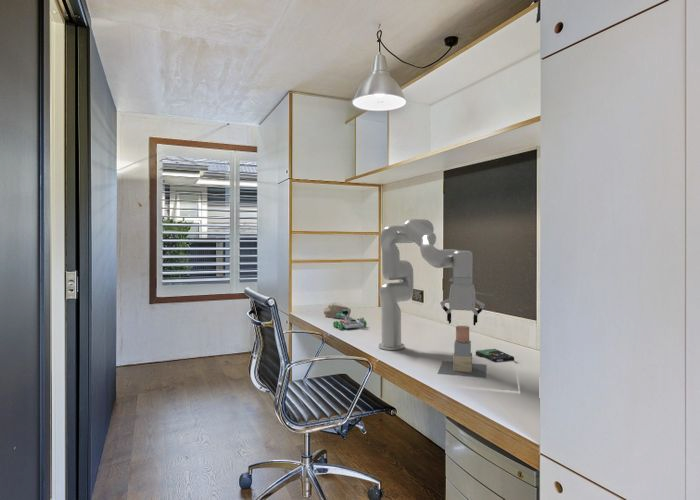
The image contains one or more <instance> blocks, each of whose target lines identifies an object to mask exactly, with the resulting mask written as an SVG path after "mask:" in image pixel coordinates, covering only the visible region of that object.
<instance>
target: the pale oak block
mask: <svg viewBox="0 0 700 500" xmlns="http://www.w3.org/2000/svg"><path fill="white" fill-rule="evenodd" d="M452 362H453V371H462V372H471V371H472V364H473V352H471V355H470V357H467V356H454V354H453V355H452Z"/></svg>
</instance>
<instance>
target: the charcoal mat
mask: <svg viewBox="0 0 700 500" xmlns="http://www.w3.org/2000/svg"><path fill="white" fill-rule="evenodd" d="M487 366H488V365H487V364H483V363H472V371H471V372H462V371H453V361H448V360H447V361H444V360H442V362H441V364H440V366H439V369H438V372H437V373H436V374H438V375H446V376H447V375H449V376H459V377H461V376H462V377H470V378H471V377H472V378H479V379H481V378H482V379H486V378H487V377H486V376H487Z"/></svg>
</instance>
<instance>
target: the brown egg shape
mask: <svg viewBox="0 0 700 500" xmlns="http://www.w3.org/2000/svg"><path fill="white" fill-rule="evenodd" d="M455 340H456V342H457V343H469V341H470V326H468V325H456V327H455Z"/></svg>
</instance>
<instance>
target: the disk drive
mask: <svg viewBox="0 0 700 500" xmlns="http://www.w3.org/2000/svg"><path fill="white" fill-rule="evenodd" d="M475 356H477V357H479V358H485V359H487V360H489V361H491V362H493V363H497V362H499V363H500V362H507V361H515V356H513V355H510V354H509V353H506V352H503V351H501V350H498V349H497V348H489V349H487V348H486V349H480V350H478V349H477V350H475Z"/></svg>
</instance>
